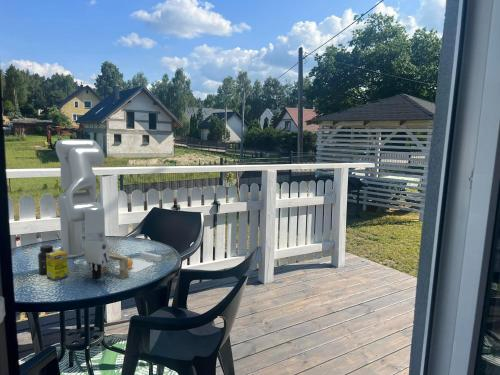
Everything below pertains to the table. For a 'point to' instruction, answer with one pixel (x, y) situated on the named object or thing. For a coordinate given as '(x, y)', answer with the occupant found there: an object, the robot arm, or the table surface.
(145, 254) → the wall
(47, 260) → the supplement box
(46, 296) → the table surface
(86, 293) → the table surface
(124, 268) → the bridge
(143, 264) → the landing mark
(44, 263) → the supplement bottle
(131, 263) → the ball
